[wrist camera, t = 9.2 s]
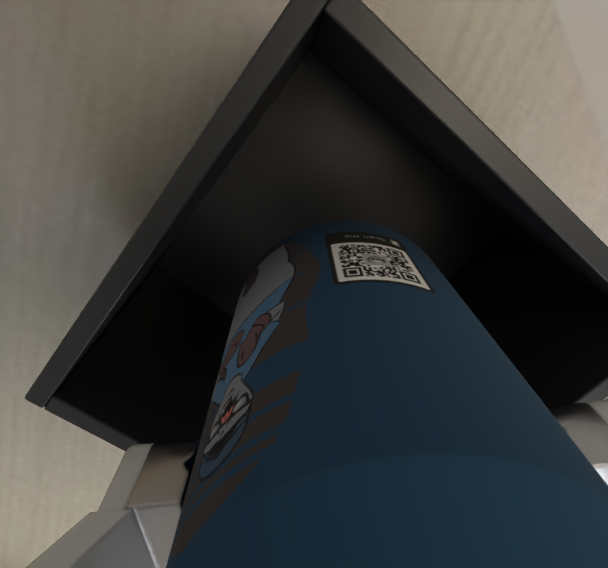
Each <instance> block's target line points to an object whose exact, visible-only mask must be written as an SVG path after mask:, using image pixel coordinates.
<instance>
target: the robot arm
mask: <svg viewBox="0 0 608 568" xmlns="http://www.w3.org/2000/svg"><path fill="white" fill-rule="evenodd" d="M546 407H547V408H548V409H549V411H550V412H551V413H552V415H553V416H554V417H555V418H556V420H557V421H558V422H559V423H560V425H561V426H562V427H563V429H564V430H565V431H566V432H567V434H568V435H569V436H570V438H571V439H572V440H573V441H574V443H575V444H576V445H577V446H578V448H579V449H580V450H581V452H582V453H583V454H584V455H585V457H586V458H587V459H588V461H589V462H590V463H591V464H592V466H593V467H594V468H595V469H596V471H597V472H598V473H599V475H600V476H601V477H602V478H603V480H604V481H605V482H606V483H607V485H608V399H606V400H597V401H588V402H582V403H572V404H562V405H552V406H546ZM199 443H200V439H199V440H185V441H170V442H156V443H151V444H134V445H131V446H130V447H129V448H128V449H127V450H126V452H125V454H124V456H123V458H122V461H121V463H120V465H119V467H118V469H117V471H116V473H115V475H114V477H113V480H112V482H111V484H110V486H109V488H108V490H107V492H106V494H105V496H104V498H103V501H102V503H101V505H100V507H99V509H98V511H97V512H92V513H89V514H88V515H87V516H85V517H84V518H83V519H82V520H81V521H80V522H78V523H77V524H76V525H75V526H74V527H73V528H71V529H70V530H69V531H68V532H67V533H66V534H64V535H63V536H62V537H61V538H60V539H59V540H57V541H56V542H55V543H54V544H53V545H52V546H50V547H49V548H48V549H47V550H46V551H45V552H43V553H42V554H41V555H40V556H39V557H38V558H37V559H35V560H34V561H33V562H32V563H31V564H30V565H28V566H27V567H26V568H166V565H167V562H168V558H169V554H170V551H171V547H172V543H173V539H174V536H175V532H176V528H177V525H178V521H179V517H180V514H181V510H182V506H183V502H184V499H185V495H186V491H187V488H188V484H189V480H190V477H191V473H192V469H193V465H194V462H195V458H196V454H197V451H198V447H199Z"/></svg>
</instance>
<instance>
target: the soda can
mask: <svg viewBox="0 0 608 568" xmlns="http://www.w3.org/2000/svg"><path fill="white" fill-rule="evenodd" d="M166 568H608V485H607V483H606V482H605V481H604V480H603V478H602V477H601V476H600V475H599V473H598V472H597V471H596V469H595V468H594V467H593V466H592V464H591V463H590V462H589V461H588V459H587V458H586V457H585V455H584V454H583V453H582V452H581V450H580V449H579V448H578V446H577V445H576V444H575V443H574V441H573V440H572V439H571V438H570V436H569V435H568V434H567V432H566V431H565V430H564V429H563V427H562V426H561V425H560V423H559V422H558V421H557V420H556V418H555V417H554V416H553V415H552V413H551V412H550V411H549V409H548V408H547V407H546V406H545V404H544V403H543V402H542V400H541V399H540V398H539V397H538V395H537V394H536V393H535V392H534V390H533V389H532V388H531V386H530V385H529V384H528V383H527V381H526V380H525V379H524V377H523V376H522V375H521V374H520V372H519V371H518V370H517V369H516V367H515V366H514V365H513V363H512V362H511V361H510V360H509V358H508V357H507V356H506V355H505V353H504V352H503V351H502V349H501V348H500V347H499V346H498V344H497V343H496V342H495V340H494V339H493V338H492V337H491V335H490V334H489V333H488V332H487V330H486V329H485V328H484V326H483V325H482V324H481V323H480V321H479V320H478V319H477V317H476V316H475V315H474V314H473V312H472V311H471V310H470V309H469V307H468V306H467V305H466V303H465V302H464V301H463V300H462V298H461V297H460V296H459V294H458V293H457V292H456V291H455V289H454V288H453V287H452V286H451V284H450V283H449V282H448V280H447V279H446V278H445V277H444V275H443V274H442V273H441V272H440V270H439V269H438V268H437V266H436V265H435V264H434V263H433V261H432V260H431V259H430V257H429V256H428V255H427V254H426V253H425V252H424V251H423V250H422V249H421V248H420V247H419V246H417V245H416V244H415V243H414V242H412V241H411V240H409V239H408V238H406V237H405V236H403V235H401V234H399V233H397V232H395V231H393V230H391V229H388V228H385V227H382V226H379V225H375V224H371V223H365V222H357V221H338V222H329V223H323V224H319V225H315V226H311V227H308V228H305V229H303V230H300V231H298V232H296V233H294V234H292V235H290V236H288V237H286V238H285V239H283V240H281V241H280V242H279V243H277V244H276V245H274V246H273V247H272V248H271V249H270V250H268V251H267V252H266V253H265V254H264V255H263V256H262V257H261V258H260V260H259V261H258V262H257V263H256V264H255V266H254V267H253V269H252V270H251V271H250V273H249V275H248V276H247V278H246V280H245V282H244V284H243V287H242V289H241V292H240V295H239V299H238V302H237V306H236V310H235V314H234V317H233V321H232V325H231V328H230V332H229V336H228V339H227V343H226V347H225V351H224V354H223V358H222V362H221V365H220V369H219V373H218V377H217V380H216V384H215V388H214V391H213V395H212V399H211V402H210V406H209V410H208V414H207V417H206V421H205V425H204V428H203V432H202V436H201V439H200V443H199V447H198V451H197V454H196V458H195V462H194V465H193V469H192V473H191V477H190V480H189V484H188V488H187V491H186V495H185V499H184V502H183V506H182V510H181V514H180V517H179V521H178V525H177V528H176V532H175V536H174V539H173V543H172V547H171V551H170V554H169V558H168V562H167V565H166Z"/></svg>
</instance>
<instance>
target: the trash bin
mask: <svg viewBox="0 0 608 568" xmlns="http://www.w3.org/2000/svg"><path fill="white" fill-rule="evenodd" d="M338 221H357V222H365V223H371V224H375V225H379V226H382V227H385V228H388V229H391V230H393V231H395V232H397V233H399V234H401V235H403V236H405V237H406V238H408V239H409V240H411V241H412V242H414V243H415V244H416V245H417V246H419V247H420V248H421V249H422V250H423V251H424V252H425V253H426V254H427V255H428V256H429V257H430V259H431V260H432V261H433V263H434V264H435V265H436V266H437V268H438V269H439V270H440V272H441V273H442V274H443V275H444V277H445V278H446V279H447V280H448V282H449V283H450V284H451V286H452V287H453V288H454V289H455V291H456V292H457V293H458V294H459V296H460V297H461V298H462V300H463V301H464V302H465V303H466V305H467V306H468V307H469V309H470V310H471V311H472V312H473V314H474V315H475V316H476V317H477V319H478V320H479V321H480V323H481V324H482V325H483V326H484V328H485V329H486V330H487V332H488V333H489V334H490V335H491V337H492V338H493V339H494V340H495V342H496V343H497V344H498V346H499V347H500V348H501V349H502V351H503V352H504V353H505V355H506V356H507V357H508V358H509V360H510V361H511V362H512V363H513V365H514V366H515V367H516V369H517V370H518V371H519V372H520V374H521V375H522V376H523V377H524V379H525V380H526V381H527V383H528V384H529V385H530V386H531V388H532V389H533V390H534V392H535V393H536V394H537V395H538V397H539V398H540V399H541V400H542V402H543V403H544V404H545V406H552V405H562V404H572V403H582V402H588V401H597V400H603V399H604V398H606V397H607V396H608V247H607V246H606V245H605V244H604V243H603V242H602V241H601V240H600V239H599V238H598V237H597V236H596V235H595V234H594V233H593V232H592V231H591V230H590V229H589V228H588V227H587V226H586V225H585V224H584V223H583V222H582V221H581V220H580V219H579V218H578V217H577V216H576V215H575V214H574V213H573V212H572V211H571V210H570V209H569V208H568V207H567V206H566V205H565V204H564V203H563V202H562V201H561V200H560V199H559V198H558V197H557V196H556V195H555V194H554V193H553V192H552V191H551V190H550V189H549V188H548V187H547V186H546V185H545V184H544V183H543V182H542V181H541V180H540V179H539V178H538V177H537V176H536V175H535V174H534V173H533V172H532V171H531V170H530V169H529V168H528V167H527V166H526V165H525V164H524V163H523V162H522V161H521V160H520V159H519V158H518V157H517V156H516V155H515V154H514V153H513V152H512V151H511V150H510V149H509V148H508V147H507V146H506V145H505V144H504V143H503V142H502V141H501V140H500V139H499V138H498V137H497V136H496V135H495V134H494V133H493V132H492V131H491V130H490V129H489V128H488V127H487V126H486V125H485V124H484V123H483V122H482V121H481V120H480V119H479V118H478V117H477V116H476V115H475V114H474V113H473V112H472V111H471V110H470V109H469V108H468V107H467V106H466V105H465V104H464V103H463V102H462V101H461V100H460V99H459V98H458V97H457V96H456V95H455V94H454V93H453V92H452V91H451V90H450V89H449V88H448V87H447V86H446V85H445V84H444V83H443V82H442V81H441V80H440V79H439V78H438V77H437V76H436V75H435V74H434V73H433V72H432V71H431V70H430V69H429V68H428V67H427V66H426V65H425V64H424V63H423V62H422V61H421V60H420V59H419V58H418V57H417V56H416V55H415V54H414V53H413V52H412V51H411V50H410V49H409V48H408V47H407V46H406V45H405V44H404V43H403V42H402V41H401V40H400V39H399V38H398V37H397V36H396V35H395V34H394V33H393V32H392V31H391V30H390V29H389V28H388V27H387V26H386V25H385V24H384V23H383V22H382V21H381V20H380V19H379V18H378V17H377V16H376V15H375V14H374V13H373V12H372V11H371V10H370V9H369V8H368V7H367V6H366V5H365V4H364V3H363V2H362V1H361V0H290V2H289V3H288V5H287V6H286V7H285V9H284V10H283V12H282V13H281V15H280V16H279V18H278V19H277V21H276V22H275V24H274V25H273V27H272V28H271V30H270V31H269V33H268V34H267V36H266V37H265V39H264V40H263V42H262V43H261V45H260V46H259V48H258V49H257V51H256V52H255V54H254V55H253V57H252V58H251V60H250V61H249V63H248V64H247V66H246V67H245V69H244V70H243V72H242V73H241V75H240V76H239V78H238V79H237V81H236V82H235V84H234V85H233V87H232V88H231V90H230V91H229V93H228V94H227V96H226V97H225V99H224V100H223V102H222V103H221V105H220V106H219V108H218V109H217V111H216V112H215V113H214V115H213V116H212V118H211V119H210V121H209V122H208V124H207V125H206V127H205V128H204V130H203V131H202V133H201V134H200V136H199V137H198V139H197V140H196V142H195V143H194V145H193V146H192V148H191V149H190V151H189V152H188V154H187V155H186V157H185V158H184V160H183V161H182V163H181V164H180V166H179V167H178V169H177V170H176V172H175V173H174V175H173V176H172V178H171V179H170V181H169V182H168V184H167V185H166V187H165V188H164V190H163V191H162V193H161V194H160V196H159V197H158V199H157V200H156V202H155V203H154V205H153V206H152V208H151V209H150V211H149V212H148V214H147V215H146V216H145V218H144V219H143V221H142V222H141V224H140V225H139V227H138V228H137V230H136V231H135V233H134V234H133V236H132V237H131V239H130V240H129V242H128V243H127V245H126V246H125V248H124V249H123V251H122V252H121V254H120V255H119V257H118V258H117V260H116V261H115V263H114V264H113V266H112V267H111V269H110V270H109V272H108V273H107V275H106V276H105V278H104V279H103V281H102V282H101V284H100V285H99V287H98V288H97V290H96V291H95V293H94V294H93V296H92V297H91V299H90V300H89V302H88V303H87V305H86V306H85V308H84V309H83V311H82V312H81V314H80V315H79V317H78V318H77V319H76V321H75V322H74V324H73V325H72V327H71V328H70V330H69V331H68V333H67V334H66V336H65V337H64V339H63V340H62V342H61V343H60V345H59V346H58V348H57V349H56V351H55V352H54V354H53V355H52V357H51V358H50V360H49V361H48V363H47V364H46V366H45V367H44V369H43V370H42V372H41V373H40V375H39V376H38V378H37V379H36V381H35V382H34V384H33V385H32V387H31V388H30V390H29V391H28V393H27V394H26V396H25V399H26V400H28V401H30V402H32V403H33V404H35V405H37V406H39V407H42V408H43V407H45V410H47V411H49V412H51V413H53V414H55V415H57V416H59V417H60V418H62V419H64V420H66V421H68V422H70V423H72V424H74V425H76V426H78V427H80V428H82V429H84V430H86V431H88V432H89V433H91V434H93V435H95V436H97V437H99V438H101V439H103V440H105V441H107V442H109V443H111V444H113V445H115V446H116V447H118V448H120V449H122V450H124V451H126V450H127V449H128V448H129V447H130V446H131V445H134V444H151V443H156V442H170V441H185V440H199V439H201V436H202V432H203V428H204V425H205V421H206V417H207V414H208V410H209V406H210V402H211V399H212V395H213V391H214V388H215V384H216V380H217V377H218V373H219V369H220V365H221V362H222V358H223V354H224V351H225V347H226V343H227V339H228V336H229V332H230V328H231V325H232V321H233V317H234V314H235V310H236V306H237V302H238V299H239V295H240V292H241V289H242V287H243V284H244V282H245V280H246V278H247V276H248V275H249V273H250V271H251V270H252V269H253V267H254V266H255V264H256V263H257V262H258V261H259V260H260V258H261V257H262V256H263V255H264V254H265V253H266V252H267V251H268V250H270V249H271V248H272V247H273V246H274V245H276V244H277V243H279V242H280V241H281V240H283V239H285V238H286V237H288V236H290V235H292V234H294V233H296V232H298V231H300V230H303V229H305V228H308V227H311V226H315V225H319V224H323V223H329V222H338Z"/></svg>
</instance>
